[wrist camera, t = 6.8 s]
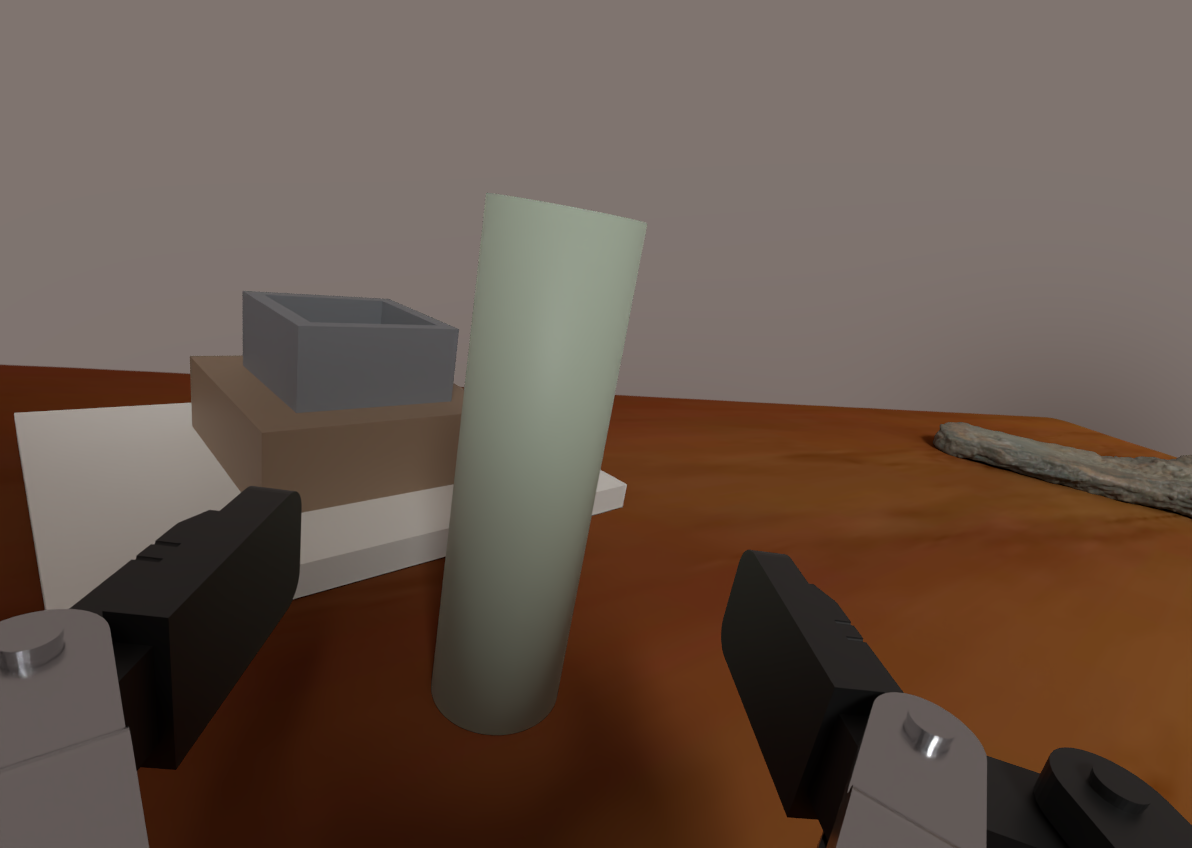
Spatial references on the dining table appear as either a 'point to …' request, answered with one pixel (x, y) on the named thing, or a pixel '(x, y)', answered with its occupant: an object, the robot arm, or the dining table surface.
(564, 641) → the green dowel
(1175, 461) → the elongated rock
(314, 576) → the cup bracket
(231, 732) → the dining table surface
